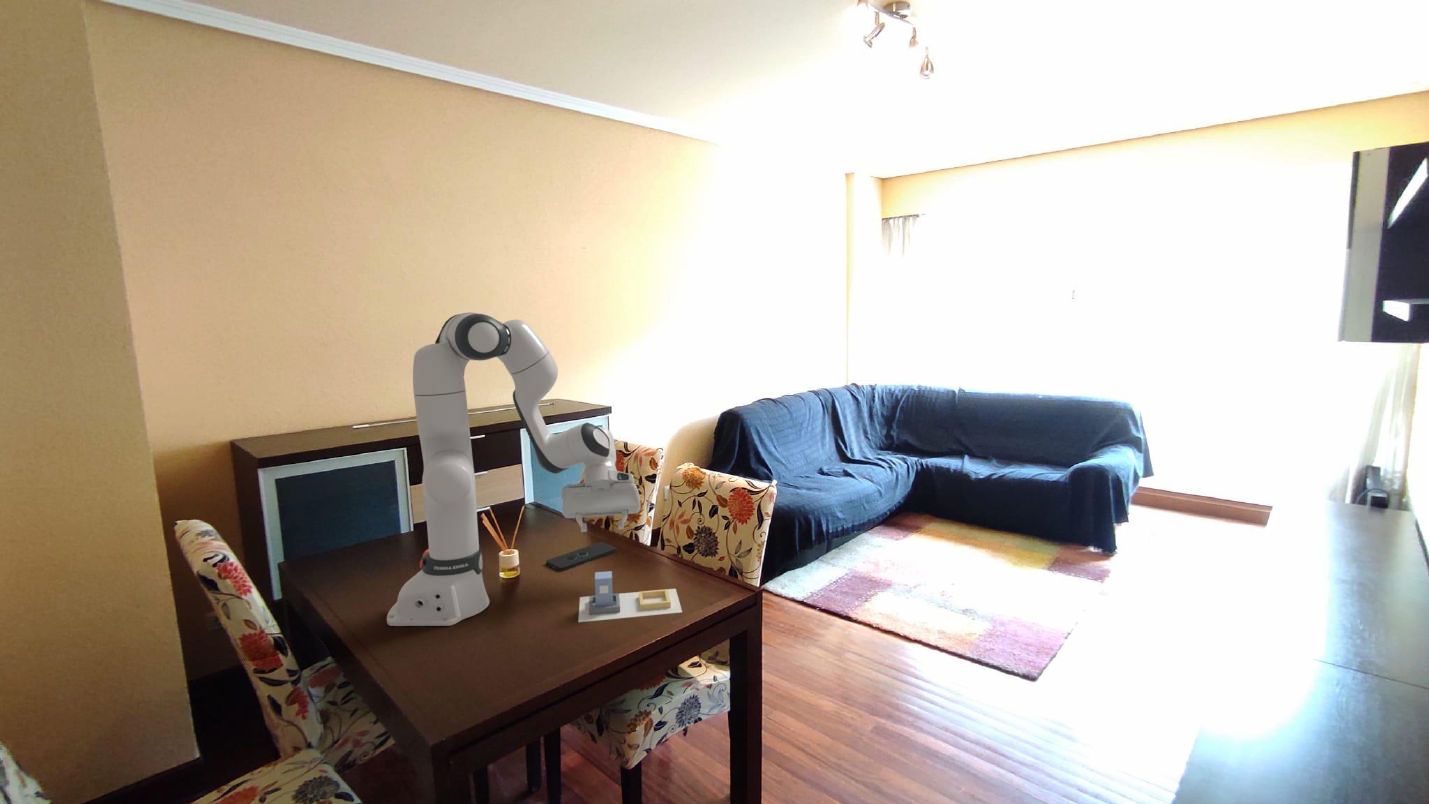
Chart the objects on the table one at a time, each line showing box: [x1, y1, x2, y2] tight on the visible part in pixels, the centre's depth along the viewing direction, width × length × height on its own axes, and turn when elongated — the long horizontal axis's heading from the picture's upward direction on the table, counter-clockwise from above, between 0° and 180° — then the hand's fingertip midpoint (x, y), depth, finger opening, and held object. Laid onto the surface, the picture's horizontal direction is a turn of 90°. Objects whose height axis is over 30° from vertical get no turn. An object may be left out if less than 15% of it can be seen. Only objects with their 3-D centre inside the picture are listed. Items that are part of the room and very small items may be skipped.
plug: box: [594, 570, 614, 607], centre depth 148 cm, size 4×5×8 cm
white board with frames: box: [577, 588, 683, 623], centre depth 150 cm, size 24×13×2 cm, turn 101°
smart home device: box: [545, 541, 618, 572], centre depth 181 cm, size 8×2×20 cm
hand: (602, 529), depth 159 cm, fingers open, 8 cm apart
